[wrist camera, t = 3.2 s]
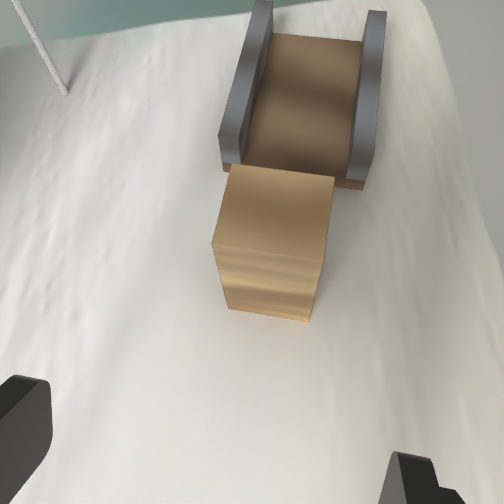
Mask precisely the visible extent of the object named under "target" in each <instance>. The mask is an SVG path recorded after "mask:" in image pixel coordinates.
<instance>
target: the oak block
mask: <svg viewBox="0 0 504 504" xmlns="http://www.w3.org/2000/svg"><path fill="white" fill-rule="evenodd" d="M334 179H335V177H331V176H323V175H315V174H308V173H300V172H293V171H285V170H278V169H270V168H262V167H255V166H247V165H240V164H232V165H231V169H230V173H229V177H228V181H227V185H226V188H225V192H224V196H223V200H222V204H221V208H220V212H219V216H218V220H217V224H216V228H215V232H214V236H213V240H212V248H213V252H214V255H215V259H216V263H217V267H218V271H219V275H220V279H221V283H222V286H223V290H224V294H225V298H226V302H227V306H228V309H234V310H240V311H246V312H252V313H257V314H263V315H269V316H275V317H281V318H287V319H293V320H299V321H305V322H309V318H310V314H311V310H312V306H313V302H314V298H315V294H316V290H317V286H318V282H319V278H320V274H321V270H322V266H323V262H324V255H325V247H326V239H327V232H328V224H329V217H330V209H331V202H332V194H333V187H334Z"/></svg>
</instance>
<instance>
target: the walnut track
mask: <svg viewBox="0 0 504 504" xmlns="http://www.w3.org/2000/svg"><path fill="white" fill-rule="evenodd" d="M386 16H387V12H386V11H375V10H369V11H368V16H367V21H366V25H365V30H364V35H363V40H362V42H360V41H350V40H339V39H329V38H319V37H309V36H298V35H288V34H278V33H273V1H263V0H256V1H255V5H254V8H253V12H252V15H251V19H250V22H249V26H248V30H247V33H246V37H245V40H244V44H243V48H242V51H241V55H240V58H239V62H238V66H237V69H236V73H235V76H234V80H233V83H232V87H231V91H230V94H229V98H228V101H227V105H226V109H225V112H224V116H223V119H222V123H221V126H220V130H219V134H218V139H219V145H220V151H221V158H222V164H223V171H224V172H230V169H231V165H232V164H240V165H247V166H255V167H262V168H270V169H278V170H285V171H293V172H300V173H308V174H315V175H323V176H331V177H335V179H334V186H335V187H343V188H350V189H358V190H363V187H364V184H365V181H366V178H367V175H368V171H369V168H370V165H371V162H372V159H373V156H374V148H375V137H376V126H377V115H378V104H379V93H380V82H381V71H382V60H383V49H384V38H385V27H386Z"/></svg>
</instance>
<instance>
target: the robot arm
mask: <svg viewBox="0 0 504 504" xmlns="http://www.w3.org/2000/svg"><path fill="white" fill-rule="evenodd" d="M52 435H53V427H52V407H51V389H50V384H49V382H48V381H46V380H41V379H36V378H31V377H26V376H21V375H13V376H11V377H10V378H9V379H7V380H6V381H5V382H4V383H3V384H2V385H1V386H0V504H9V503H10V501H11V500H12V499H13V498H14V496H15V495H16V494H17V493H18V491H19V490H20V489H21V487H22V486H23V485H24V484H25V482H26V481H27V480H28V479H29V477H30V476H31V475H32V474H33V472H34V471H35V470H36V468H37V467H38V466H39V465H40V463H41V462H42V461H43V459H44V458H45V456H46V454H47V452H48V450H49V447H50V445H51V441H52ZM378 504H465V502H464V501H463V500H462V498H461V497H460V496H459V494H458V493H457V492H456V490H453V489H448V488H443V487H439V485H438V481H437V477H436V474H435V470H434V467H433V463H432V461H431V460H430V459H429V458H426V457H421V456H416V455H411V454H406V453H401V452H396V451H394V452H393V453H392V455H391V458H390V461H389V465H388V469H387V473H386V477H385V480H384V484H383V488H382V492H381V495H380V499H379V503H378Z"/></svg>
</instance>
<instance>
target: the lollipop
mask: <svg viewBox="0 0 504 504" xmlns="http://www.w3.org/2000/svg"><path fill="white" fill-rule="evenodd" d="M11 1H12V3H13V5H14V7H15V9H16V10H17V12H18V14H19V16H20V18H21V20H22V21H23V23H24V25H25V27H26V29H27V31H28V32H29V34H30V36H31V38H32V40H33V41H34V43H35V45H36V47H37V49H38V51H39V52H40V54H41V56H42V58H43V60H44V61H45V63H46V65H47V67H48V69H49V71H50V72H51V74H52V76H53V78H54V80H55V82H56V83H57V85H58V87H59V89H60V91H61V92H62V94H63V95H64V96H66V95H68V94H69V92H68V90H67V88H66V86H65V84H64V82H63V81H62V79H61V77H60V75H59V73H58V71H57V69H56V67H55V65H54V64H53V62H52V60H51V58H50V56H49V54H48V52H47V50H46V48H45V47H44V45H43V43H42V41H41V39H40V37H39V35H38V34H37V32H36V30H35V28H34V26H33V24H32V22H31V20H30V18H29V17H28V15H27V13H26V11H25V9H24V7H23V5H22V3H21V2H20V0H11Z"/></svg>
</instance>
